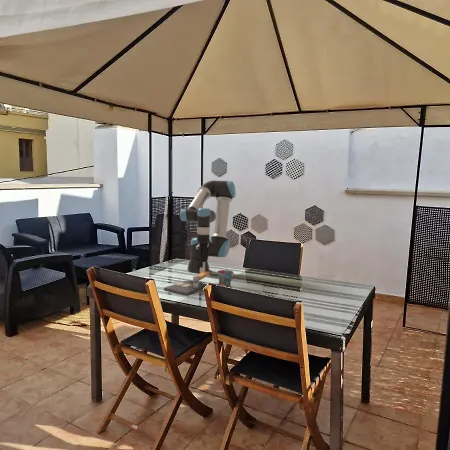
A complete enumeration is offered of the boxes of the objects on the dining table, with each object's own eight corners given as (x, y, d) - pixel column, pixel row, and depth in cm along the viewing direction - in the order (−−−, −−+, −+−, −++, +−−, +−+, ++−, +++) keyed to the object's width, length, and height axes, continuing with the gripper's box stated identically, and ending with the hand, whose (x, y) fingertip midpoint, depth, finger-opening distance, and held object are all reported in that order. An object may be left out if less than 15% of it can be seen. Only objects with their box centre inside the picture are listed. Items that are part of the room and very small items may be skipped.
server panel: (189, 282, 235) (189, 274, 234) (210, 287, 226) (210, 278, 225) (164, 290, 217) (164, 281, 216) (186, 295, 208) (186, 286, 207)
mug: (224, 293, 215) (224, 274, 213) (213, 289, 221) (213, 271, 220) (239, 289, 223) (239, 271, 222) (228, 286, 230) (228, 268, 228)
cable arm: (209, 275, 231) (209, 270, 231) (197, 282, 215) (197, 277, 215) (203, 275, 232) (203, 270, 232) (191, 281, 216) (192, 276, 216)
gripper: (204, 232, 238) (203, 269, 241) (191, 234, 228) (190, 273, 230) (214, 233, 234) (213, 271, 237) (201, 235, 223) (200, 275, 226)
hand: (202, 272), depth 233 cm, fingers closed
